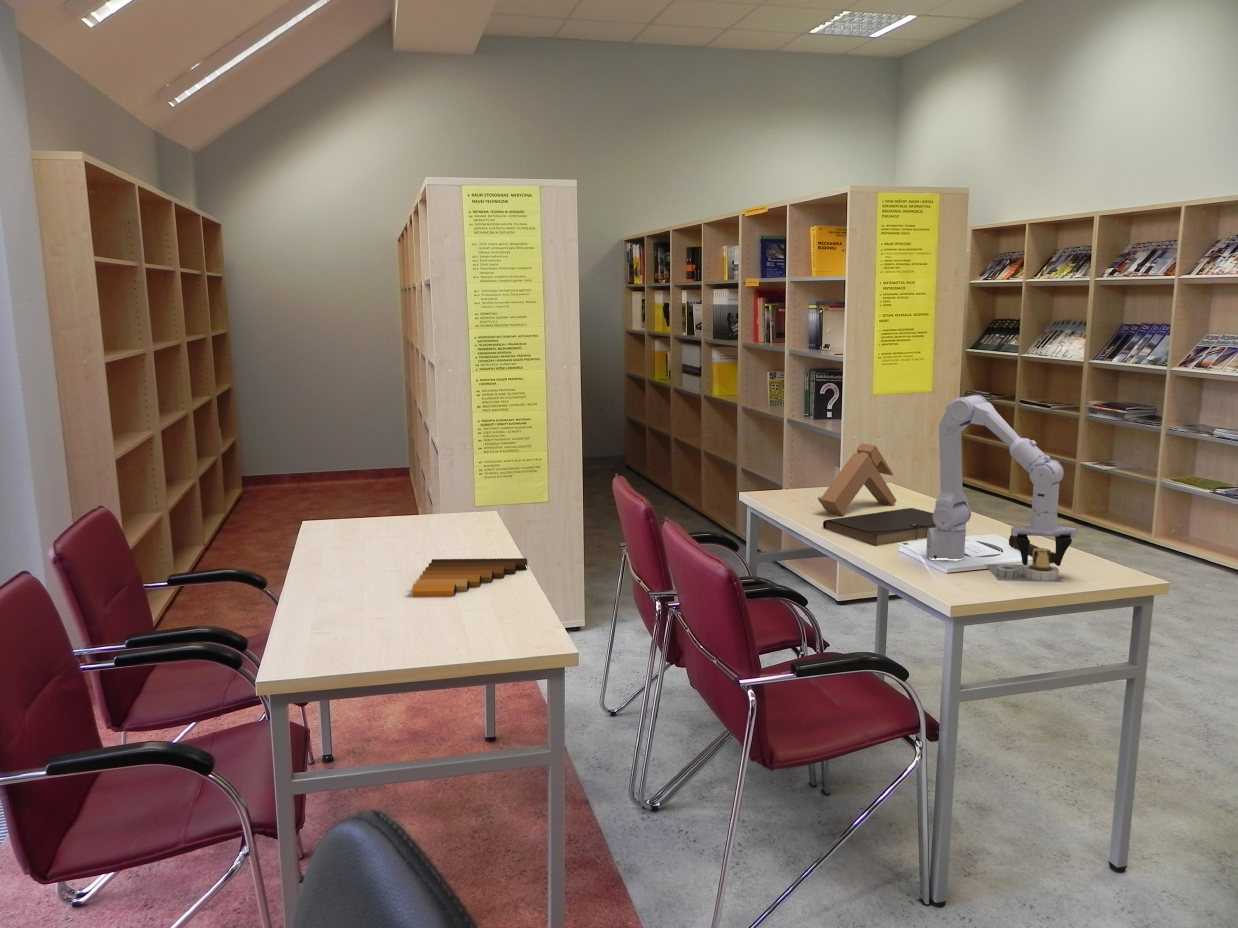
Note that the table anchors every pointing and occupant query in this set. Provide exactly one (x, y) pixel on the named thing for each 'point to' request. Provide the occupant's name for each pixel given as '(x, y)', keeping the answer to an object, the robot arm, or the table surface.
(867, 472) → the wooden a-frame
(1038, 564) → the round peg
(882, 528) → the dark brown book
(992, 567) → the fitting board
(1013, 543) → the brown wooden stick
